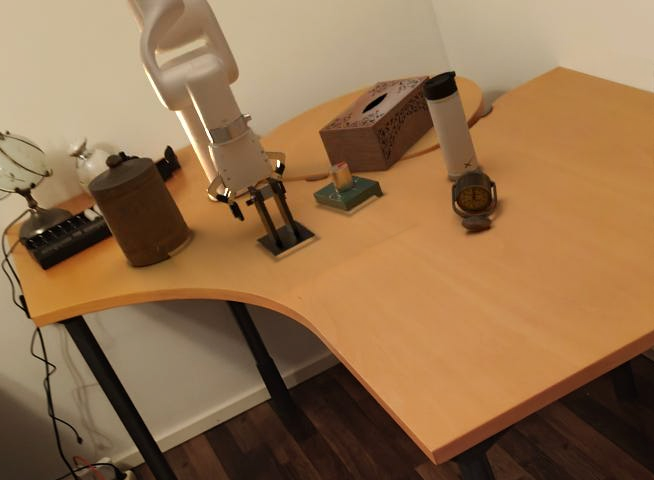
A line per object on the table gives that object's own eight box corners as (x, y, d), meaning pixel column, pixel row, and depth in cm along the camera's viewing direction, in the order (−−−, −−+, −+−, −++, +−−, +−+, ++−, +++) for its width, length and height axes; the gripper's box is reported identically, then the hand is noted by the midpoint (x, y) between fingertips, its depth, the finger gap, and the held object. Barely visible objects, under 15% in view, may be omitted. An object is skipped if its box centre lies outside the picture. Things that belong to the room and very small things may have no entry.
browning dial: (343, 193, 172) (335, 171, 170) (332, 190, 175) (324, 169, 172) (358, 183, 174) (350, 162, 171) (347, 181, 177) (339, 160, 174)
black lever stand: (258, 244, 172) (232, 188, 165) (297, 224, 174) (272, 168, 167) (277, 260, 164) (250, 201, 156) (317, 239, 166) (292, 180, 159)
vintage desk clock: (511, 168, 152) (459, 161, 155) (486, 197, 143) (431, 189, 146) (511, 205, 156) (460, 198, 160) (486, 236, 147) (433, 227, 151)
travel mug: (479, 177, 166) (452, 78, 155) (447, 183, 168) (418, 86, 157) (483, 163, 171) (457, 66, 160) (451, 170, 173) (423, 74, 162)
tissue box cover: (386, 170, 183) (371, 126, 178) (334, 172, 191) (318, 131, 186) (440, 117, 199) (428, 75, 194) (390, 121, 207) (377, 82, 202)
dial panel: (318, 206, 179) (312, 192, 177) (350, 186, 182) (345, 172, 181) (349, 215, 170) (344, 201, 168) (383, 194, 174) (378, 180, 172)
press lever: (249, 209, 172) (243, 198, 172) (270, 198, 174) (265, 188, 173) (258, 203, 161) (252, 192, 161) (281, 191, 162) (275, 180, 162)
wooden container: (157, 231, 195) (110, 142, 183) (204, 229, 188) (158, 136, 175) (115, 267, 186) (62, 176, 173) (163, 266, 178) (111, 171, 166)
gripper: (260, 108, 169) (292, 185, 178) (181, 145, 164) (219, 222, 174) (273, 114, 163) (305, 194, 173) (192, 153, 159) (230, 232, 168)
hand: (262, 208), depth 173 cm, fingers open, 9 cm apart
